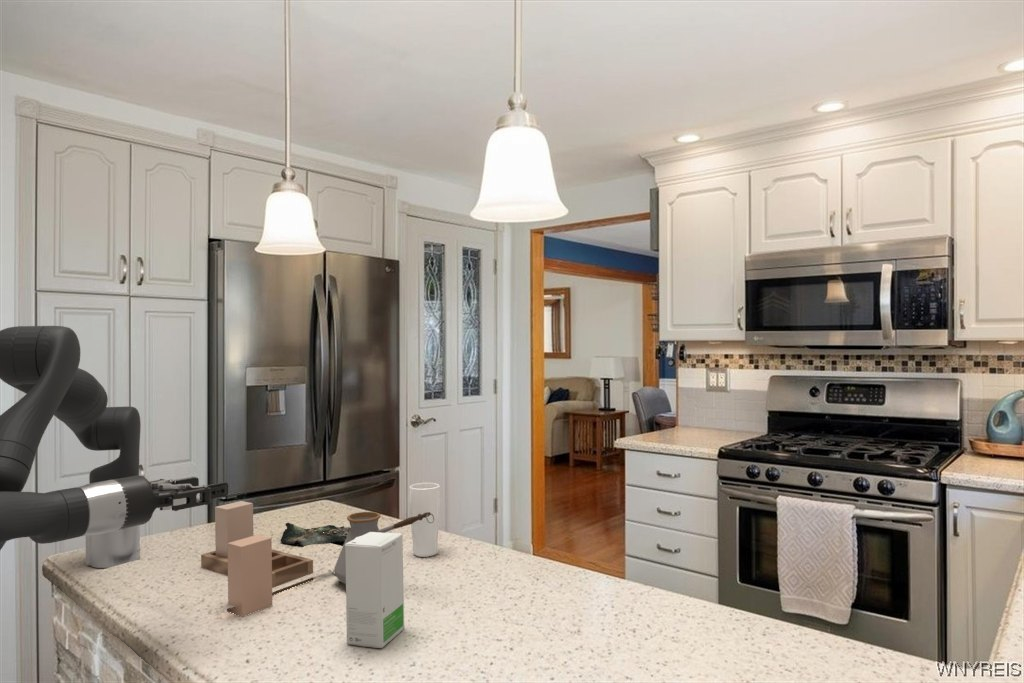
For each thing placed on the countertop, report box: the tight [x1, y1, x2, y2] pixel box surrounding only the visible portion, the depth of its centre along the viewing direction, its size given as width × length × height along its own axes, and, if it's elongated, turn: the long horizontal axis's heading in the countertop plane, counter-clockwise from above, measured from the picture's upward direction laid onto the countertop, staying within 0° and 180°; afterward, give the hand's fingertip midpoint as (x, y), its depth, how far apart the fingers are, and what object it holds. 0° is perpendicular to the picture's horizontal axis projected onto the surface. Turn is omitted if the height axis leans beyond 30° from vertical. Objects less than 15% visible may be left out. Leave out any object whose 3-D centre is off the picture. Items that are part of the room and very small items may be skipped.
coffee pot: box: [333, 511, 434, 586], centre depth 129 cm, size 21×12×15 cm, turn 65°
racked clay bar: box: [214, 500, 254, 559], centre depth 138 cm, size 4×6×12 cm, turn 146°
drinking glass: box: [408, 482, 441, 558], centre depth 148 cm, size 7×7×15 cm
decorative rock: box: [279, 521, 351, 548], centre depth 158 cm, size 19×6×15 cm
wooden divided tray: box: [200, 549, 314, 596], centre depth 134 cm, size 22×10×4 cm, turn 56°
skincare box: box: [345, 532, 405, 649], centre depth 107 cm, size 8×7×16 cm
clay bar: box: [227, 534, 273, 617], centre depth 119 cm, size 4×6×12 cm, turn 146°
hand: (211, 485), depth 114 cm, fingers open, 8 cm apart
